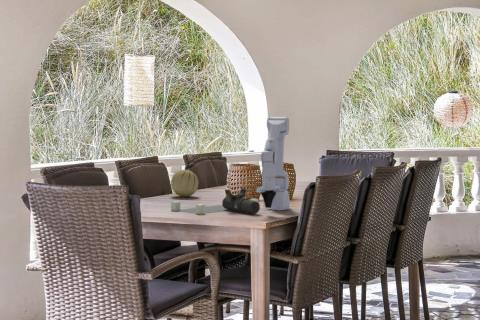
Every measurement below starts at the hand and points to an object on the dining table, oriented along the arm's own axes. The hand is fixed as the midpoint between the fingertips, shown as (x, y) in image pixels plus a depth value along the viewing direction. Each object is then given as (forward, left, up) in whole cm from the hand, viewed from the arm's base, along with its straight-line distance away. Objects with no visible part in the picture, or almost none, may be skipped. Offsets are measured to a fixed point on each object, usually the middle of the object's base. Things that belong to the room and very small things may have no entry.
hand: (268, 207), depth 367 cm
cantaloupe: (-27, -81, -4) cm, 85 cm away
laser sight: (0, -17, -4) cm, 17 cm away
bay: (0, -32, -3) cm, 33 cm away
